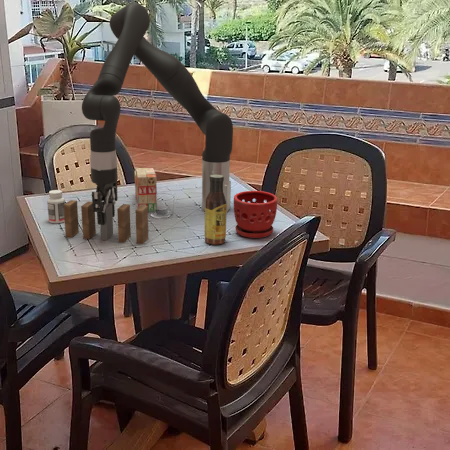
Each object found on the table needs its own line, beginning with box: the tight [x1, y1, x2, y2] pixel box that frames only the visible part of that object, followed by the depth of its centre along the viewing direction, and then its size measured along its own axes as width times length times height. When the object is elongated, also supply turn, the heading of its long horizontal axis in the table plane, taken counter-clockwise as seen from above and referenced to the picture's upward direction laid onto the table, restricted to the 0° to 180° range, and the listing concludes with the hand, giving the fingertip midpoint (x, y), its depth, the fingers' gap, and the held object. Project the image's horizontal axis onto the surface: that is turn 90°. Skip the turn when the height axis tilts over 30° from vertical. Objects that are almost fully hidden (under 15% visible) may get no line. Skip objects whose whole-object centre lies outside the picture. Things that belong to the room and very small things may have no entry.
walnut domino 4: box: [135, 205, 149, 245], centre depth 190 cm, size 2×5×10 cm, turn 169°
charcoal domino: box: [99, 203, 114, 242], centre depth 192 cm, size 2×5×10 cm, turn 169°
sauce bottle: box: [203, 175, 228, 246], centre depth 188 cm, size 6×6×20 cm
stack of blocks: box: [133, 167, 158, 213], centre depth 227 cm, size 21×6×12 cm, turn 11°
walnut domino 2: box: [80, 201, 97, 240], centre depth 193 cm, size 2×5×10 cm, turn 169°
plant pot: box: [233, 190, 278, 239], centre depth 197 cm, size 13×13×12 cm
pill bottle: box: [46, 189, 66, 224], centre depth 206 cm, size 5×5×10 cm
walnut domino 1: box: [64, 199, 80, 238], centre depth 194 cm, size 2×5×10 cm, turn 168°
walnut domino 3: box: [116, 203, 132, 243], centre depth 191 cm, size 2×5×10 cm, turn 168°
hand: (106, 220), depth 192 cm, fingers open, 7 cm apart
